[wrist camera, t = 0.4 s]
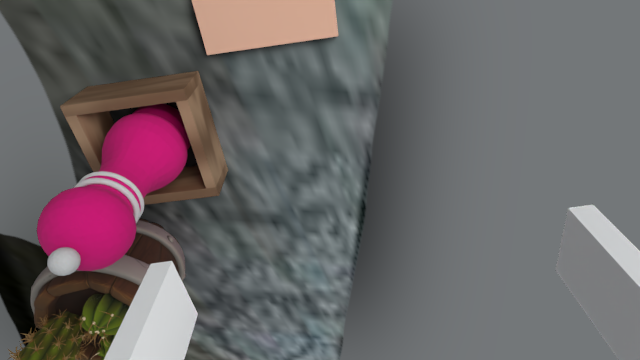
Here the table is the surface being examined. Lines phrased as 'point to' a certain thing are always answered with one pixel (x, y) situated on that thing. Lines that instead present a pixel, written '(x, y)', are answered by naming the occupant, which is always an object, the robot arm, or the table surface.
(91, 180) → the pepper mill
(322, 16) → the plate
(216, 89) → the table surface
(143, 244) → the flowerpot
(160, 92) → the wooden box
